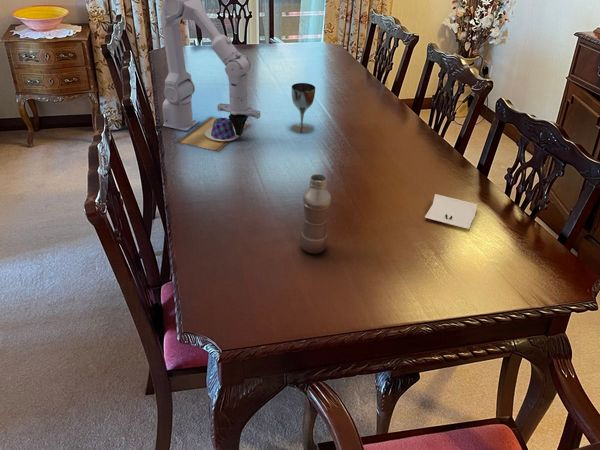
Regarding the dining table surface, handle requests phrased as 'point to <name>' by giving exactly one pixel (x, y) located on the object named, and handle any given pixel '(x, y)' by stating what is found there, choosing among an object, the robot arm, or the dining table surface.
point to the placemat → (204, 137)
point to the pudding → (221, 130)
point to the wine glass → (302, 103)
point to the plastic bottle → (315, 215)
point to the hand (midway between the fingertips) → (239, 134)
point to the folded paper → (452, 211)
